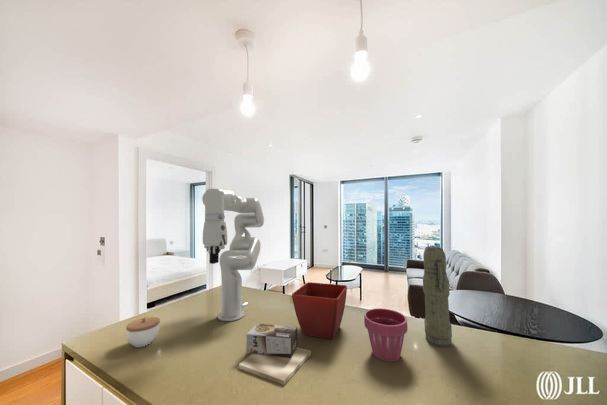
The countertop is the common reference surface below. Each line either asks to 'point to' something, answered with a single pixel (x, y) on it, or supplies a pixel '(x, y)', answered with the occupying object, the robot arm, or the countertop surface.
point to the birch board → (275, 365)
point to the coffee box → (272, 340)
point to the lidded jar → (142, 331)
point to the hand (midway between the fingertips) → (214, 263)
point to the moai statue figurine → (436, 298)
